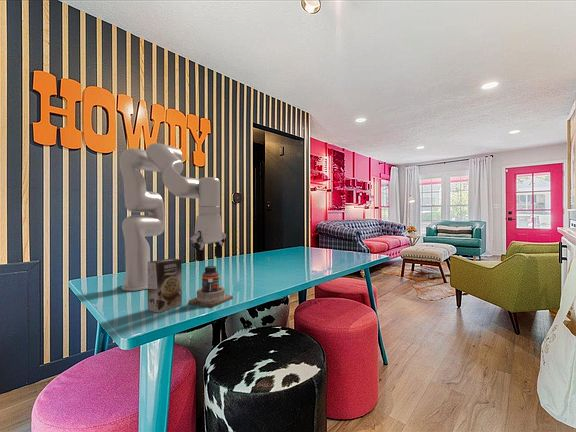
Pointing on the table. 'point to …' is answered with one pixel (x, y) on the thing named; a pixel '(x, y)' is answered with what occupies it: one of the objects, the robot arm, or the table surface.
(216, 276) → the supplement bottle
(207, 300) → the socket collar
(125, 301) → the table surface
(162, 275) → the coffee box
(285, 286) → the table surface
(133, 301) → the table surface
